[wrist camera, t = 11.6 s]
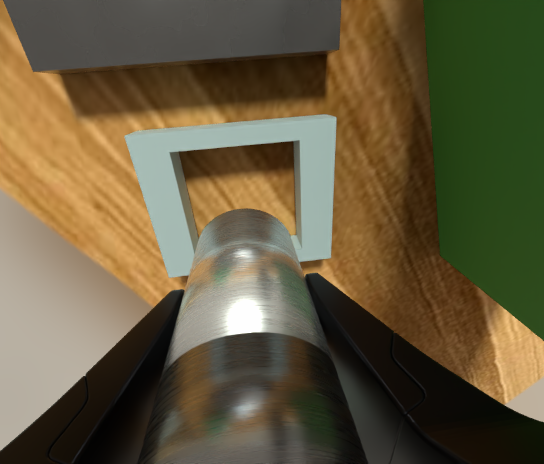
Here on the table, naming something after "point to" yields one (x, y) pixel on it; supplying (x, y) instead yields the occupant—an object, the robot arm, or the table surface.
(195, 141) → the square frame
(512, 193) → the hardback book
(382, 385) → the robot arm
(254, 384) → the chrome metal cylinder
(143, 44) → the socket block
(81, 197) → the table surface
